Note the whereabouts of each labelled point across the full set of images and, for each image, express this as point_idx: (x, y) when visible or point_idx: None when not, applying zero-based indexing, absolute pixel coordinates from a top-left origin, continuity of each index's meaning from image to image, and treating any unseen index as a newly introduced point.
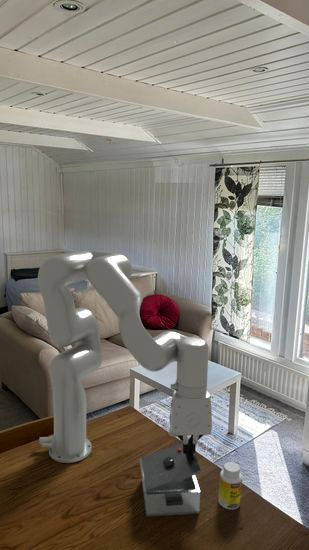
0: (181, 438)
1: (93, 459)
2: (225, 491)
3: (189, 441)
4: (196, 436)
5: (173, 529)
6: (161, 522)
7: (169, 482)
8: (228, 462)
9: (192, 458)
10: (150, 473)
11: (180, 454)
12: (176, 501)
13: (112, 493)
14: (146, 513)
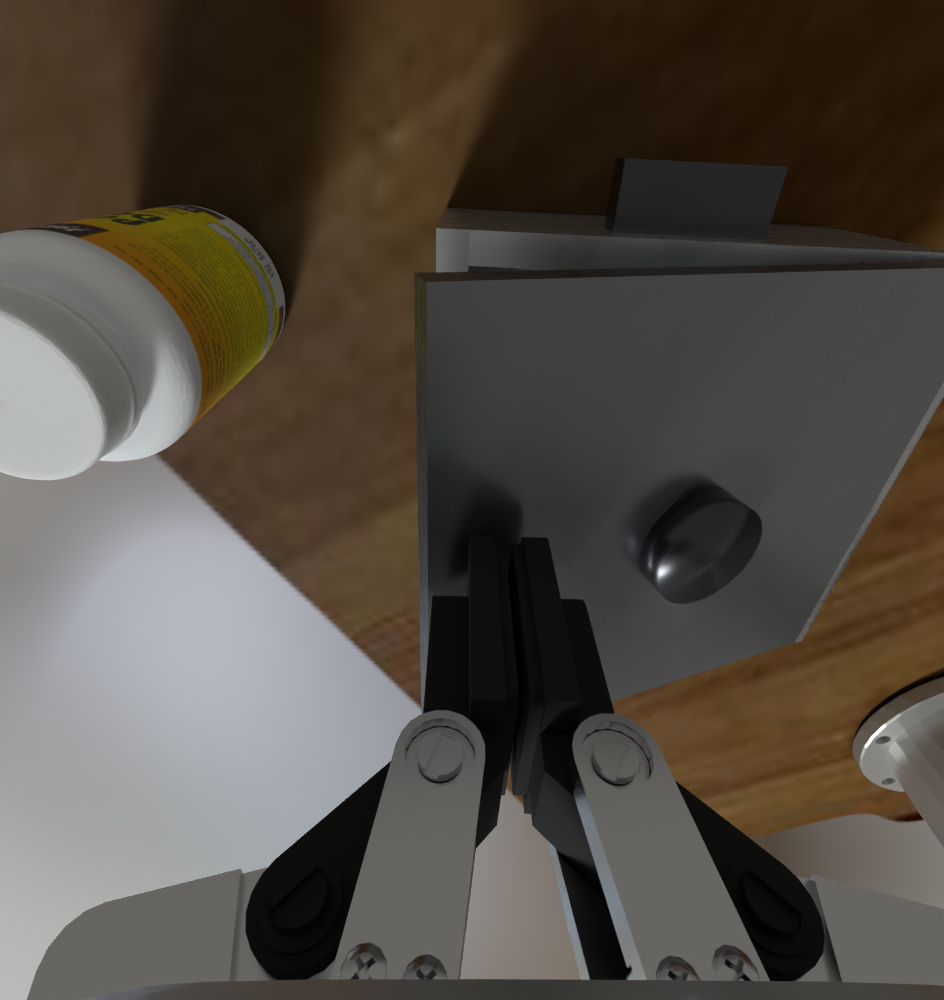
0: (703, 835)
1: (882, 674)
2: (188, 251)
3: (508, 756)
4: (409, 877)
5: (688, 49)
6: (746, 149)
7: (815, 268)
8: (52, 473)
9: (477, 535)
10: (851, 474)
11: None
12: (689, 163)
13: (922, 456)
14: (840, 230)
